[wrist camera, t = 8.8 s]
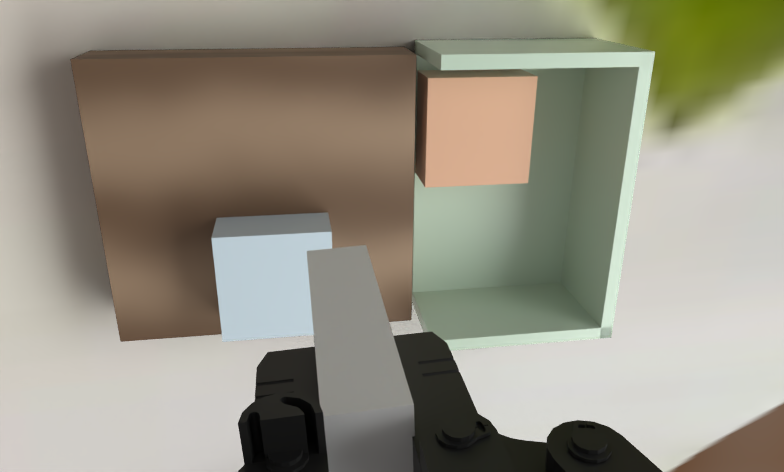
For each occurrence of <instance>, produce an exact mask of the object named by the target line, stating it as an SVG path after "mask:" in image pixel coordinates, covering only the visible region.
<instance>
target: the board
mask: <svg viewBox="0 0 784 472" xmlns="http://www.w3.org/2000/svg"><path fill="white" fill-rule="evenodd" d="M70 60H71V66H72V71H73V77H74V82H75V88H76V94H77V99H78V105H79V111H80V116H81V122H82V127H83V133H84V139H85V144H86V150H87V156H88V161H89V167H90V172H91V178H92V184H93V189H94V195H95V200H96V206H97V212H98V217H99V223H100V229H101V234H102V240H103V245H104V251H105V257H106V262H107V268H108V274H109V279H110V285H111V290H112V296H113V302H114V307H115V313H116V319H117V324H118V330H119V335H120V341H135V340H148V339H162V338H175V337H189V336H202V335H216V334H222V331H221V322H220V313H219V304H218V294H217V285H216V276H215V267H214V258H213V248H212V239H211V238H212V234H213V230H214V226H215V222H216V218H223V217H244V216H264V215H285V214H305V213H326V212H328V215H329V220H330V225H331V231H332V248H341V247H352V246H362V245H366V247H367V250H368V254H369V257H370V260H371V263H372V267H373V270H374V273H375V277H376V280H377V283H378V287H379V290H380V293H381V297H382V300H383V303H384V307H385V310H386V313H387V317H388V320H389V322H392V321H405V320H411V310H412V257H413V204H414V151H415V98H416V54H415V53H413V52H411V51H410V50H408V49H407V48H405V47H350V48H268V49H186V50H104V51H89V52H86V53H84V54H82V55H80V56H77V57H75V58H73V59H70Z"/></svg>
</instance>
